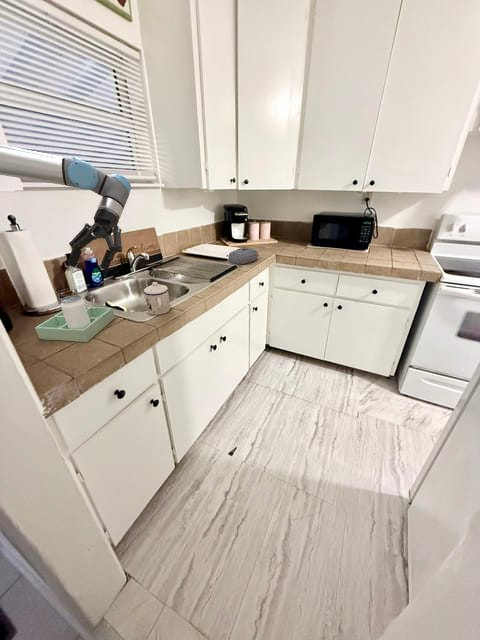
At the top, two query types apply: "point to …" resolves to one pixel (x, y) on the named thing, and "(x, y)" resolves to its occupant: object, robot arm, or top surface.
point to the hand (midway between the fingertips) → (87, 267)
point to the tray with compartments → (60, 331)
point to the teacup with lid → (157, 299)
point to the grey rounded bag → (243, 256)
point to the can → (75, 312)
